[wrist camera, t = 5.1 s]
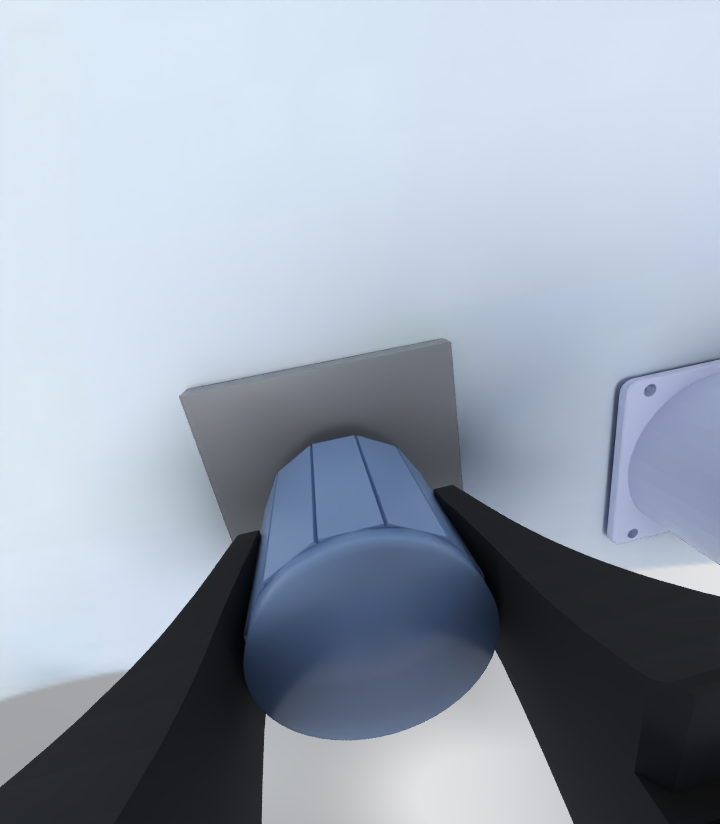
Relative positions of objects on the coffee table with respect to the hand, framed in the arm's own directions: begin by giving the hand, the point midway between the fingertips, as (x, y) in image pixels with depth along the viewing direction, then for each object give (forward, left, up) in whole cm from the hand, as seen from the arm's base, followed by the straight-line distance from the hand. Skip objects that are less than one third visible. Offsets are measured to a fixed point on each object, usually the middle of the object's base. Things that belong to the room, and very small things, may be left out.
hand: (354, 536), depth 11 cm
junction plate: (0, 0, -4) cm, 4 cm away
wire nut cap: (0, 0, -1) cm, 1 cm away
